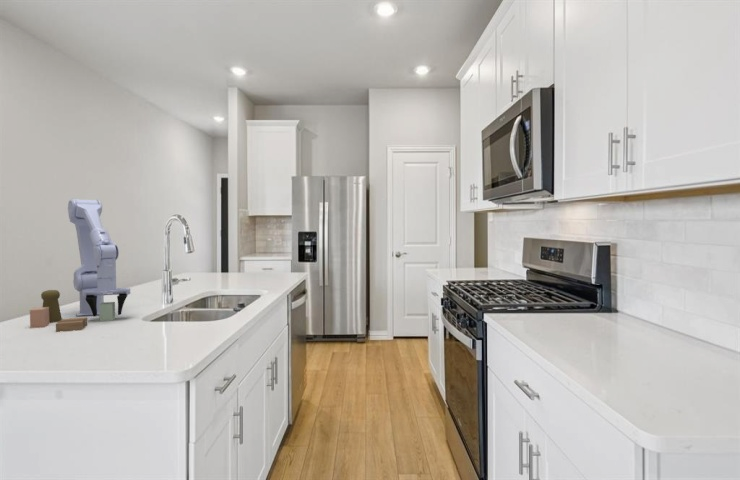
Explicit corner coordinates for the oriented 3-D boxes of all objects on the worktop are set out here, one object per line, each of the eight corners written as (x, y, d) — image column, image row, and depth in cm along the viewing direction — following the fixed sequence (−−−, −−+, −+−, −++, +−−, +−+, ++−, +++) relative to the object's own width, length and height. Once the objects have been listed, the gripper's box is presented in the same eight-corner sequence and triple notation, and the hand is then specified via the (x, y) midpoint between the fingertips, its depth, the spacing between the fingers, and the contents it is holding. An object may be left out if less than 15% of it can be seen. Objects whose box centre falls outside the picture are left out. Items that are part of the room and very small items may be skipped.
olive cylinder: (52, 323, 142) (52, 291, 141) (35, 323, 142) (34, 291, 142) (66, 319, 148) (65, 289, 148) (49, 318, 148) (48, 288, 148)
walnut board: (62, 327, 137) (62, 319, 137) (87, 325, 140) (87, 317, 140) (56, 333, 131) (55, 323, 131) (82, 330, 134) (81, 321, 134)
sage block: (102, 318, 149) (102, 302, 149) (115, 318, 150) (114, 301, 150) (99, 321, 145) (99, 304, 145) (112, 320, 147) (112, 303, 146)
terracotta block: (35, 325, 139) (34, 307, 139) (49, 324, 141) (48, 307, 140) (30, 328, 136) (29, 310, 135) (45, 327, 137) (44, 309, 137)
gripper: (79, 280, 141) (80, 319, 141) (127, 278, 146) (128, 315, 147) (85, 277, 147) (86, 314, 148) (131, 275, 153) (131, 311, 153)
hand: (107, 315), depth 148 cm, fingers open, 7 cm apart
